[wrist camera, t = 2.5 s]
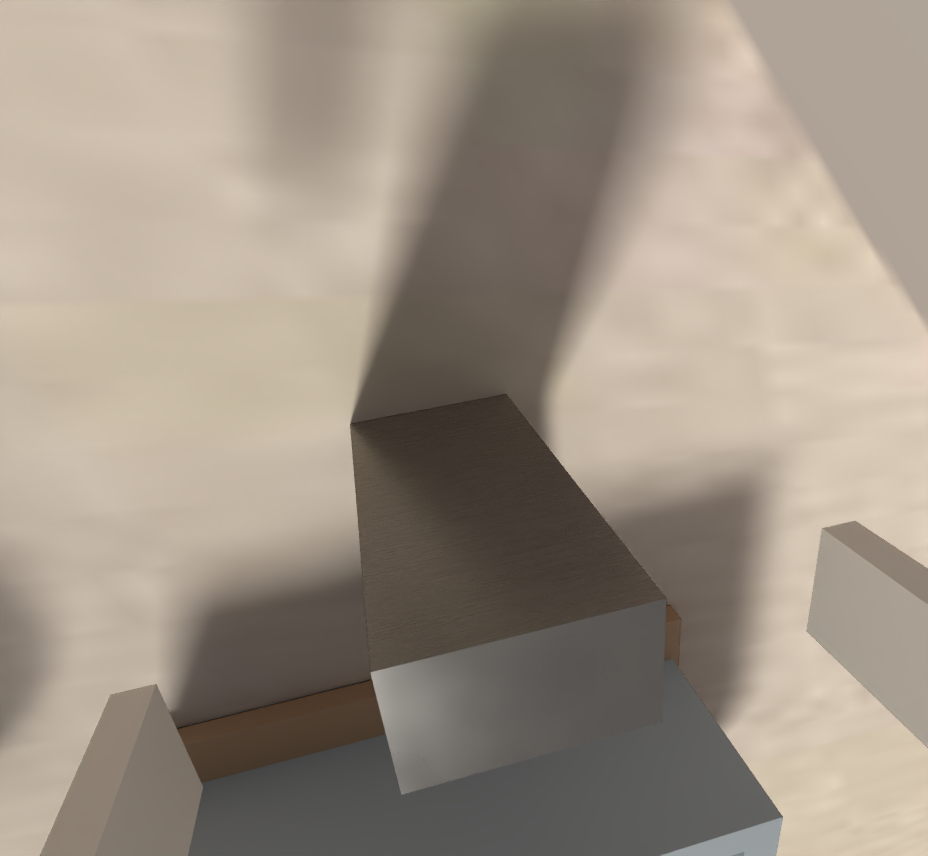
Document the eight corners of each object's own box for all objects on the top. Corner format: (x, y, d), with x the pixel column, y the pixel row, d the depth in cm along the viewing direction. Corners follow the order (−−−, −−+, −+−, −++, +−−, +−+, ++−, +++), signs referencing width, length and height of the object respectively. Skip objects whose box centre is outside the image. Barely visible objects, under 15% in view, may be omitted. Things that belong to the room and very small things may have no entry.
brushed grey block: (349, 423, 18) (370, 672, 9) (506, 394, 19) (666, 598, 10) (386, 589, 21) (428, 904, 12) (521, 558, 22) (657, 834, 13)
